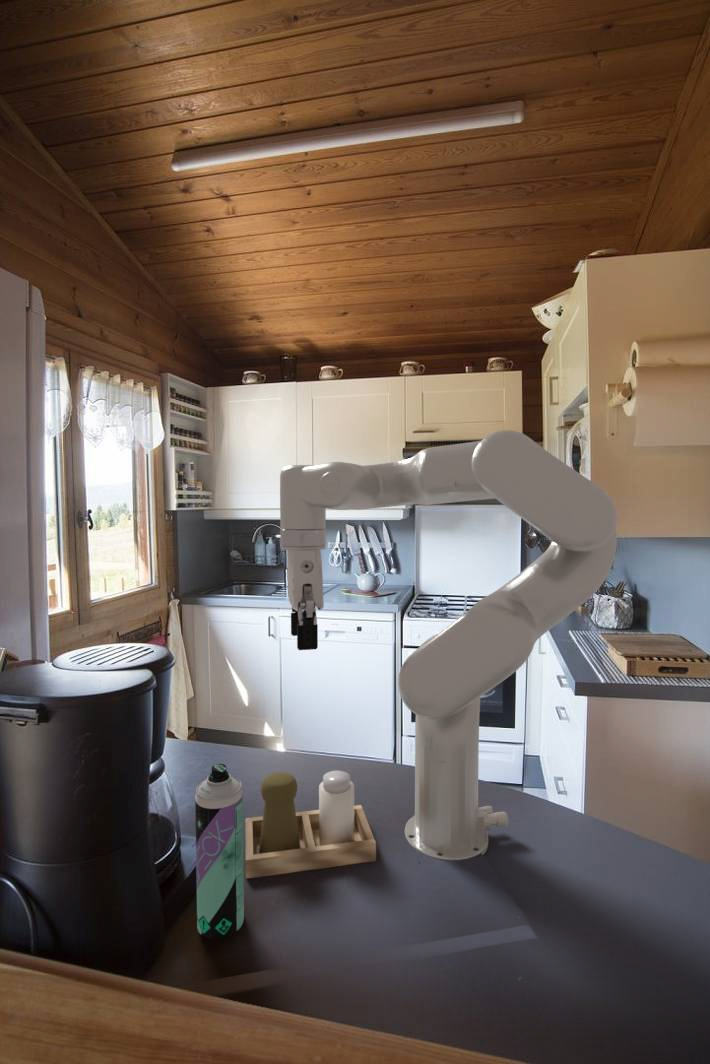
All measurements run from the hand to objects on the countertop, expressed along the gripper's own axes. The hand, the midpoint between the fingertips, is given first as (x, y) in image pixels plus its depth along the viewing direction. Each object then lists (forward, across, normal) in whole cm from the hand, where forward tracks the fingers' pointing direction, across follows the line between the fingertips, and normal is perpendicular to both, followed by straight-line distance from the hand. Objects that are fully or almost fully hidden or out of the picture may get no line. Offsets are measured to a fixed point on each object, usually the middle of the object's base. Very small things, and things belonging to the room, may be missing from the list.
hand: (303, 641), depth 90 cm
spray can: (+28, -24, +13) cm, 40 cm away
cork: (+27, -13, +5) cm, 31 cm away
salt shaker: (+27, -13, -3) cm, 30 cm away
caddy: (+28, -13, +1) cm, 31 cm away
